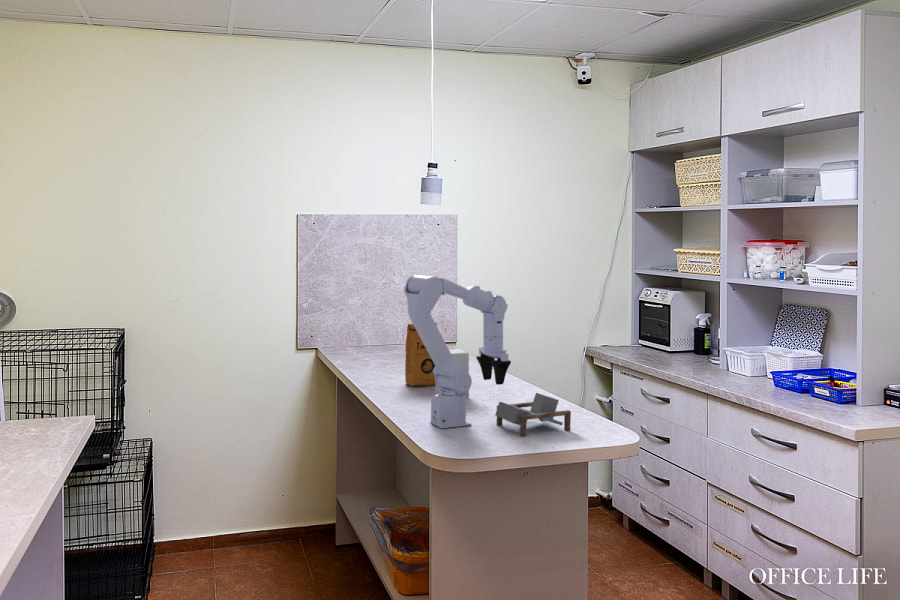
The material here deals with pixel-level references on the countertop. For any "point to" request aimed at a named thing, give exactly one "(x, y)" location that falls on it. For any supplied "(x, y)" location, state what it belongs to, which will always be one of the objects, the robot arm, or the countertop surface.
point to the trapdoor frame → (535, 416)
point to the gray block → (543, 404)
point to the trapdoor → (516, 413)
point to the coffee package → (417, 360)
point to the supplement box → (462, 359)
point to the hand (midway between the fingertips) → (493, 381)
